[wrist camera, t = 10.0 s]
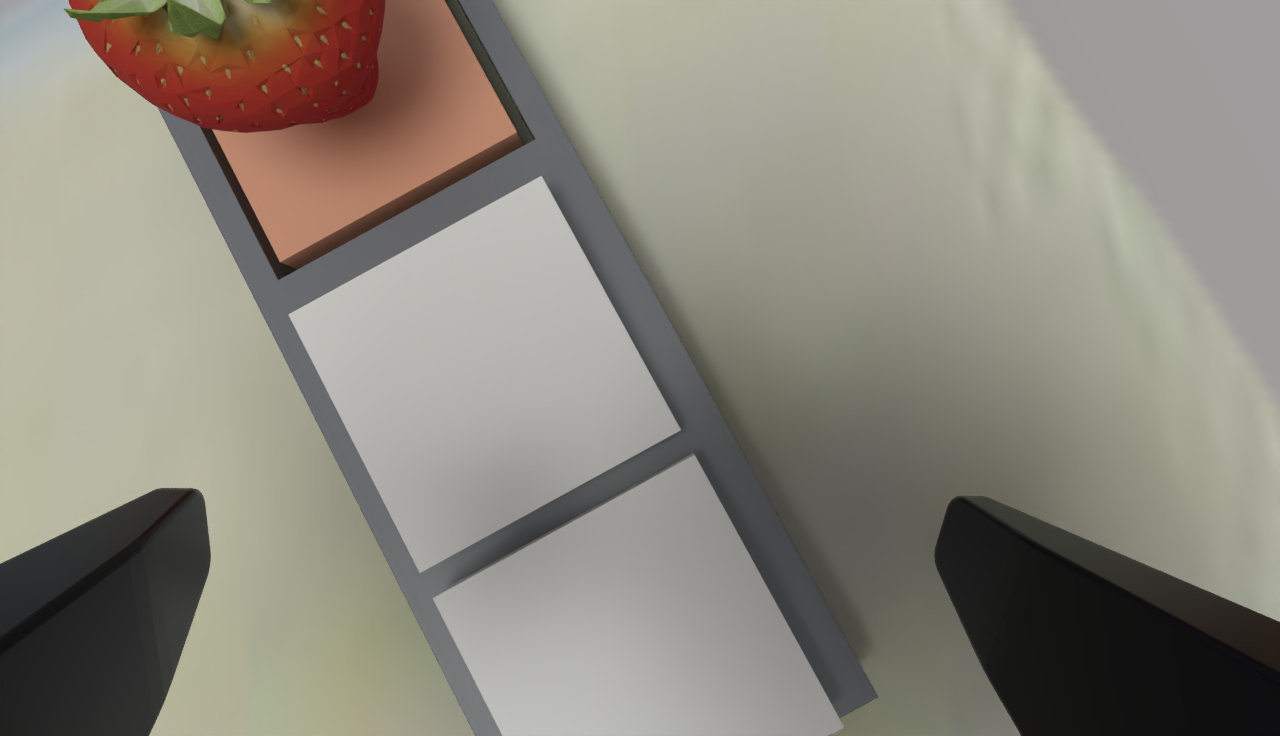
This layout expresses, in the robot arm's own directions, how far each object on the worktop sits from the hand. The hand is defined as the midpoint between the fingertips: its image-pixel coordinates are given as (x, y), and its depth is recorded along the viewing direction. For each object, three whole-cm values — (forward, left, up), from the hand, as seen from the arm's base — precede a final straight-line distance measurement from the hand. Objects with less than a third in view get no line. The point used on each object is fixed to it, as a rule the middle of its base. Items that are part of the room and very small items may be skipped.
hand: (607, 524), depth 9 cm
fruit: (+7, +9, -9) cm, 14 cm away
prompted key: (+8, +9, -10) cm, 16 cm away
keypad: (+2, +4, -10) cm, 12 cm away
